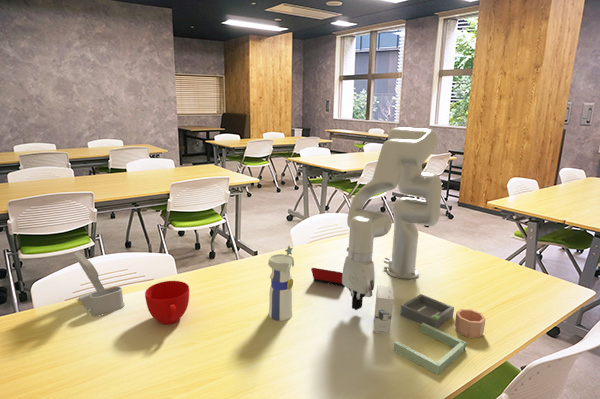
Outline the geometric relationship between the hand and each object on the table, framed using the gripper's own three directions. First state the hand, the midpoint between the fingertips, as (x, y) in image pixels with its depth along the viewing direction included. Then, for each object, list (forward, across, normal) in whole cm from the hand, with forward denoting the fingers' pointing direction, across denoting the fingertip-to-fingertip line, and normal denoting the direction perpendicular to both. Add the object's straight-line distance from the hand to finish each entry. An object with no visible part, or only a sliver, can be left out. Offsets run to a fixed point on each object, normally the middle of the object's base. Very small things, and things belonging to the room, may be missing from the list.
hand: (356, 307), depth 126 cm
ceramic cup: (+3, -35, -48) cm, 59 cm away
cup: (+2, +29, +18) cm, 34 cm away
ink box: (+2, +10, 0) cm, 10 cm away
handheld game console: (+2, -22, +11) cm, 24 cm away
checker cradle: (+2, +16, +16) cm, 23 cm away
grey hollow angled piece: (+3, -62, -60) cm, 86 cm away
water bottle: (+3, -16, -19) cm, 25 cm away
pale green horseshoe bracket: (+2, +26, 0) cm, 26 cm away
